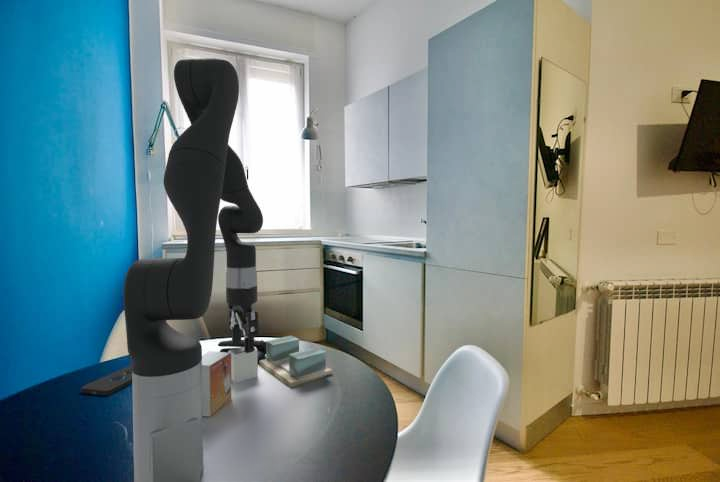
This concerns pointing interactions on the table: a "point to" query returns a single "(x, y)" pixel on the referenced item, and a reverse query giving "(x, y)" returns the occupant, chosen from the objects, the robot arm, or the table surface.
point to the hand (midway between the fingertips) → (242, 347)
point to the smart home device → (110, 383)
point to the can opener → (258, 344)
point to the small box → (215, 381)
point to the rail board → (294, 361)
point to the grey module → (243, 364)
